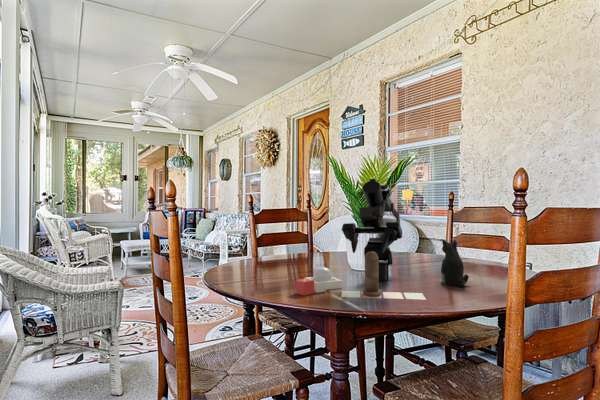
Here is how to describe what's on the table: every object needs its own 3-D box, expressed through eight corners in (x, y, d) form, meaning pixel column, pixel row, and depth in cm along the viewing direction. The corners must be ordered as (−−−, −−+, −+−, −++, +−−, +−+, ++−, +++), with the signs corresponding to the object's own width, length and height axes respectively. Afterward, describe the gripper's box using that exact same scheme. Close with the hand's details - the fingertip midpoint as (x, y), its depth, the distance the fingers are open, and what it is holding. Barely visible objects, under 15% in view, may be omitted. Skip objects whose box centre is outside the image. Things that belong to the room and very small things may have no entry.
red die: (305, 291, 119) (305, 278, 119) (314, 293, 116) (313, 280, 116) (295, 293, 116) (295, 279, 116) (304, 295, 113) (304, 281, 113)
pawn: (380, 292, 113) (380, 250, 113) (381, 297, 108) (381, 252, 108) (362, 292, 114) (362, 250, 114) (362, 296, 109) (362, 252, 109)
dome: (327, 282, 126) (327, 265, 127) (335, 285, 121) (335, 268, 121) (311, 283, 124) (310, 266, 124) (318, 287, 119) (318, 269, 119)
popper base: (329, 284, 128) (329, 275, 128) (342, 290, 120) (342, 280, 120) (305, 286, 125) (304, 277, 125) (315, 292, 117) (315, 282, 117)
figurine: (463, 282, 131) (462, 238, 131) (477, 288, 121) (476, 241, 121) (435, 282, 130) (435, 238, 130) (447, 289, 121) (447, 241, 121)
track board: (422, 294, 114) (422, 292, 114) (428, 303, 104) (428, 300, 104) (341, 292, 117) (341, 289, 117) (339, 300, 107) (339, 297, 107)
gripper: (341, 199, 127) (331, 237, 117) (397, 195, 118) (391, 236, 109) (351, 220, 134) (342, 257, 125) (404, 218, 126) (399, 258, 116)
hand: (367, 252), depth 118 cm, fingers open, 9 cm apart
